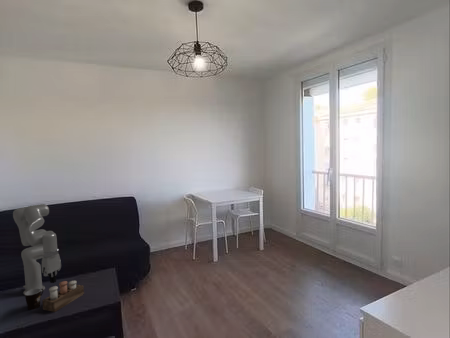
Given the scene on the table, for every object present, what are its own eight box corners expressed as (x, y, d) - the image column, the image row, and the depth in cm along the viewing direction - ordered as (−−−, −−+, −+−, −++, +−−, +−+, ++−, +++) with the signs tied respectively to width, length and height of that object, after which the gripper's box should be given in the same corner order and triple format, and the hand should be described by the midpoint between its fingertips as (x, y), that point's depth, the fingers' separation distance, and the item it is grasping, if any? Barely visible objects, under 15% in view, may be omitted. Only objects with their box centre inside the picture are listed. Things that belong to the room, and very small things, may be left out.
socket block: (43, 309, 173) (42, 300, 172) (72, 292, 193) (72, 283, 193) (55, 312, 169) (54, 302, 169) (84, 294, 190) (83, 285, 190)
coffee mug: (29, 312, 170) (28, 296, 169) (23, 308, 174) (21, 293, 174) (49, 303, 180) (48, 288, 179) (43, 300, 184) (42, 285, 184)
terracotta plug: (57, 296, 180) (57, 284, 179) (64, 292, 184) (63, 280, 184) (63, 297, 178) (62, 285, 178) (69, 293, 183) (69, 281, 182)
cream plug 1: (47, 301, 173) (46, 289, 173) (54, 297, 178) (53, 285, 177) (53, 302, 171) (52, 290, 171) (60, 298, 176) (59, 286, 175)
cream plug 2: (67, 294, 186) (66, 283, 186) (73, 291, 191) (72, 280, 190) (73, 295, 185) (72, 284, 184) (79, 292, 189) (78, 280, 189)
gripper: (57, 249, 181) (59, 276, 182) (34, 257, 167) (37, 287, 168) (65, 249, 178) (68, 277, 179) (43, 258, 164) (46, 288, 165)
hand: (53, 282), depth 173 cm, fingers closed
